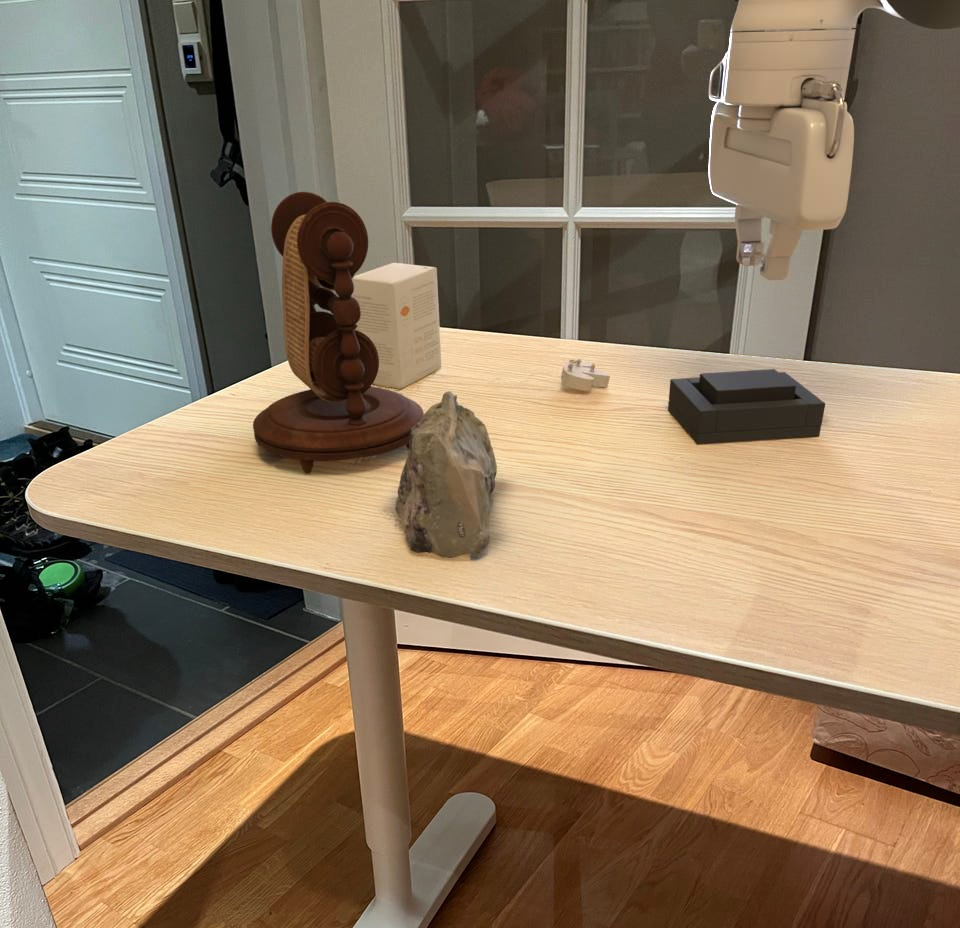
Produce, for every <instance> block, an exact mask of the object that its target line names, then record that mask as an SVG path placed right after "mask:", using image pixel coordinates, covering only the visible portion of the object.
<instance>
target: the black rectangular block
mask: <svg viewBox="0 0 960 928" xmlns="http://www.w3.org/2000/svg"><path fill="white" fill-rule="evenodd" d="M699 377H700V378H699V388H698V391H699V392H700V393H701V394H702V395H703V396H704V397H705V398H706V399H707V400H708V401H709V402H710V403H711V404H712V405H715V404H731V403H746V402H762V401H778V400H794V396H795V390H796V386H795V385H794V384H793V383H792V382H790V381H789V380H788V379H786V378H785V377H784V376H783V375H781V374H780V373H779V371H777V370H776V369H775V368H768V369H754V370H753V369H751V370H736V371H720V372H704V373H699Z"/></svg>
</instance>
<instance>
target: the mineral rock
mask: <svg viewBox="0 0 960 928" xmlns="http://www.w3.org/2000/svg"><path fill="white" fill-rule="evenodd" d="M457 399H458V396H457V394H454V393H453V392H452V391H445V392H444V393H443V394H442V397H441V401H440V402H437V403H435V404H433V405H430V407H429V408H428V409H427V410H426V411H425V412H424V415H423V417H422V419H421V421H419V422H418V423H417V424H416V425H415V426H414V427H413V428H412V431H411V433H410V446H409V450H408V451H407V458H406V459H405V462H404V465H403V468H402V472H401V474H400V479H399V483H398V484H399V485H398V489H397V497H396V499H395V506H394V509H395V512H396V514H397V516H398V518H399V519H400V521H401V523H402V528H403V529H404V531H403V533H404V540H405V543H406V544H407V546H408V547H409V550H410V552H412V553H416V554H424V553H425V554H426V553H428V554H431V553H432V554H434V555H435V556H438V557H440V558H446V559H455V558H459V557H460V558H461V557H463V556H466V555H467V556H468V555H472V554H479V553H480V552H481V551H483V550H485V549H486V548H487V547H488V545H489V543H490V542H491V541H490V540H491V539H490V537H491V535H490V507H491V501H490V496H491V495H492V494H493V492H494V490H495V488H496V476H497V472H498V465H497V461H496V456H495V453H494V452H495V451H494V448H493V446H492V445H491V439H490V435H489V433H488V429H487V427H486V424H485V423H484V422H483V421H482V420H481V419H480V418H478V417H476V415H475V413H474V411H473V410H470V409H469V408H467V407H464V406H463V405H461V404H459V403H458V401H457Z"/></svg>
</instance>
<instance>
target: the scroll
mask: <svg viewBox="0 0 960 928" xmlns="http://www.w3.org/2000/svg"><path fill="white" fill-rule="evenodd" d="M270 224H271V225H270V231H271V238H272V242H273V244H274V247H275V249H276V250H277V252H278V253H279V254H280V255H281V257H282V269H281V275H282V276H281V298H282V299H281V301H282V302H281V303H282V304H281V305H282V319H283V336H284V345H285V354H286V359H287V362H288V366H289V367H290V369H291V372H292V373H293V375H294V376H295V377H296V378H297V379H299V380H300V381H301V382H302V383H303V384H304V385H305V386H307V387H308V388H309V389H307V390H302V391H298V392H296V393H293V394H289V395H286V396H284V397H282V398H280V399H278V400H276V401H274V402H273V403H271V404H270V405H268V407H266V408H265V409H263V410H262V411H260V412H259V413H258V414H257V415H256V416H255V418H254V420H253V423H252V429H253V435H254V441H255V443H256V444H257V445H258V447H260V448H261V449H262V450H264V451H265V452H268V453H270V454H273V455H276V456H278V457H283V458H287V459H293V460H298V461H299V465H300V467H301V469H302V471H303V473H304V474H306V475H310V474H311V473H312V472H313V469H314V464H315V463H314V462H335V461H347V460H349V461H350V460H357V459H358V460H359V459H363V458H368V457H374V456H379V455H381V454H386V453H390V452H392V451H395V450H397V449H401V448H402V447H404V446H405V447H406V448H407V450H408V451H409V446H410V433H411V431H412V428H413V427H414V426H415V425H416V424H417V423H418V422H419V421H421V419H422V417H423V415H424V414H425V412H424V410H423V408H422V406H421V405H420V404H419V403H418V402H416V401H415V400H413V399H411V398H409V397H407V396H405V395H403V394H402V393H399V392H397V391H394V390H390V389H386V388H382V387H376V386H372V385H373V382H374V380H375V378H376V376H377V373H378V368H379V357H378V352H377V349H376V347H375V345H374V343H373V342H372V341H371V339H370V338H369V337H368V336H366V335H365V334H363V333H362V332H360V331H357V330H355V329H356V328H357V327H358V325H357V324H356V323H357V322H358V321H359V320H360V317H361V310H360V305H359V303H358V301H357V300H356V299H355V298H353V297H351V296H352V294H353V292H354V283H353V281H352V279H353V277H354V276H356V273H358V272H359V270H360V269H361V268H362V266H363V264H364V263H365V260H366V258H367V255H368V250H369V235H368V230H367V227H366V224H365V221H363V219H362V217H361V216H360V214H359V213H358V212H357V211H356V210H354V209H353V208H352V207H350V206H349V205H347V204H344V203H342V202H338V201H327V200H326V199H325V198H323V197H322V196H320V195H318V194H316V193H313V192H310V191H297V192H294V193H292V194H289V195H287V196H286V197H284V199H283V200H281V201H280V202H279V204H278V205H277V207H276V208H275V210H274V212H273V215H272V219H271V223H270ZM334 291H335V292H334ZM316 305H317V306H318V307H319V308H320V309H322V310H321V311H320V310H319V311H317V309H316ZM323 310H324V311H323Z"/></svg>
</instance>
